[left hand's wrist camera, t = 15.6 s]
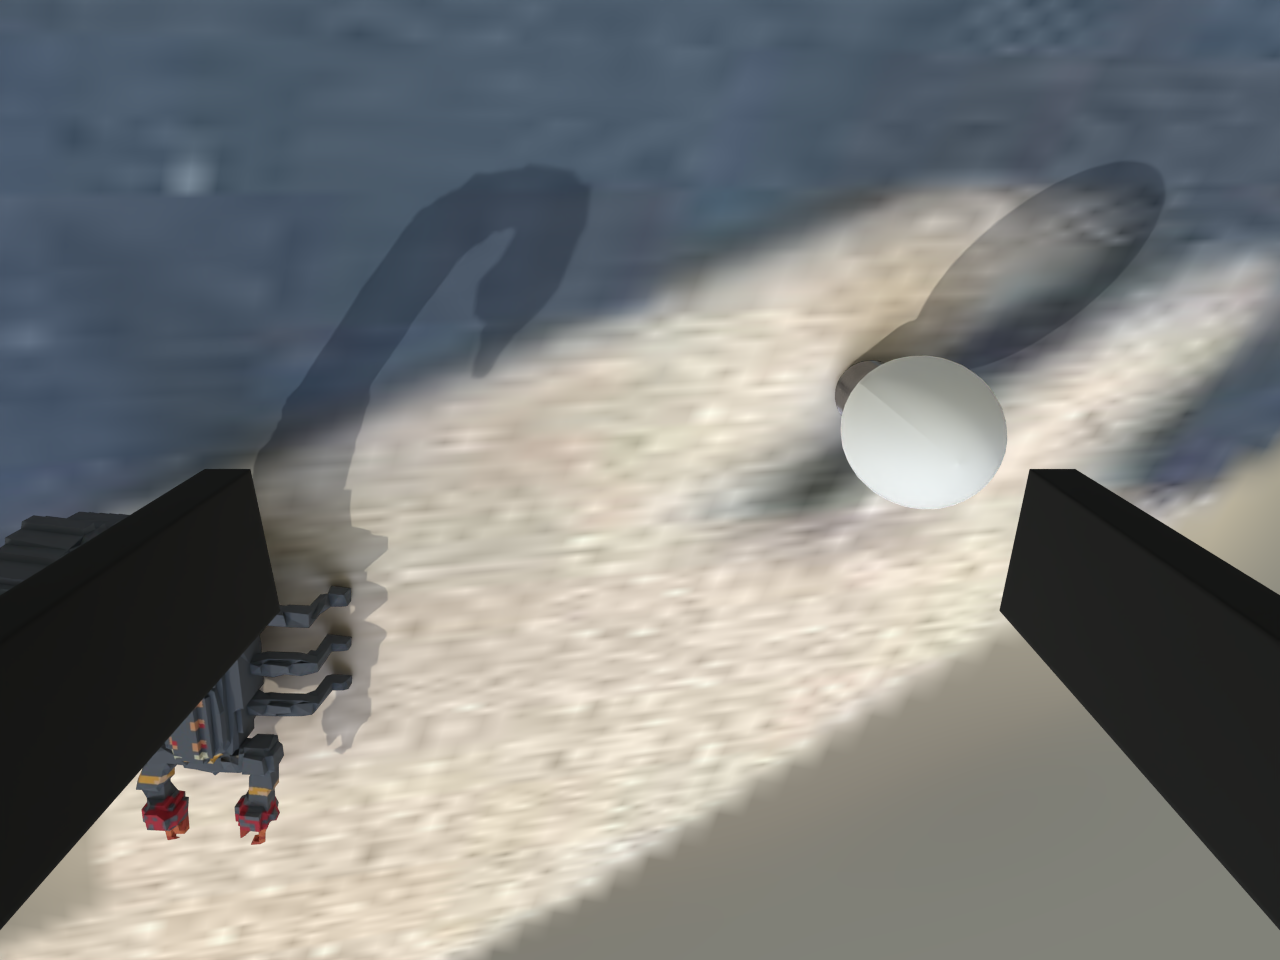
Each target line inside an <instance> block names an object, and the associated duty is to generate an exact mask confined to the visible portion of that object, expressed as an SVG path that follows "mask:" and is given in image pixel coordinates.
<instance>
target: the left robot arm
mask: <svg viewBox="0 0 1280 960" xmlns="http://www.w3.org/2000/svg"><path fill="white" fill-rule="evenodd" d="M279 612H280V606H279V602H278V597H277V592H276V587H275V583H274V578H273V573H272V569H271V564H270V559H269V555H268V550H267V545H266V540H265V536H264V531H263V526H262V522H261V517H260V512H259V508H258V503H257V498H256V494H255V489H254V484H253V479H252V475H251V470H250V469H204V470H203V471H201V472H199V473H198V474H196V475H194V476H193V477H191V478H190V479H188V480H186V481H185V482H183V483H182V484H180V485H178V486H177V487H175V488H173V489H172V490H170V491H169V492H167V493H165V494H164V495H162V496H160V497H159V498H157V499H156V500H154V501H152V502H151V503H149V504H147V505H146V506H144V507H143V508H141V509H139V510H138V511H136V512H134V513H133V514H131V515H130V516H128V517H126V518H125V519H123V520H121V521H120V522H118V523H117V524H115V525H113V526H112V527H110V528H109V529H107V530H105V531H104V532H102V533H100V534H99V535H97V536H96V537H94V538H92V539H91V540H89V541H87V542H86V543H84V544H83V545H81V546H79V547H78V548H76V549H74V550H73V551H71V552H70V553H68V554H66V555H65V556H63V557H61V558H60V559H58V560H57V561H55V562H53V563H52V564H50V565H49V566H47V567H45V568H44V569H42V570H40V571H39V572H37V573H36V574H34V575H32V576H31V577H29V578H27V579H26V580H24V581H23V582H21V583H19V584H18V585H16V586H14V587H13V588H11V589H10V590H8V591H6V592H5V593H3V594H1V595H0V930H1V929H2V927H3V926H4V925H5V924H6V923H7V922H8V921H9V919H10V918H11V917H12V916H13V915H14V914H15V913H16V911H17V910H18V909H19V908H20V907H21V906H22V905H23V903H24V902H25V901H26V900H27V899H28V898H29V897H30V895H31V894H32V893H33V892H34V891H35V890H36V889H37V887H38V886H39V885H40V884H41V883H42V882H43V881H44V879H45V878H46V877H47V876H48V875H49V874H50V873H51V872H52V870H53V869H54V868H55V867H56V866H57V865H58V864H59V862H60V861H61V860H62V859H63V858H64V857H65V856H66V854H67V853H68V852H69V851H70V850H71V849H72V848H73V846H74V845H75V844H76V843H77V842H78V841H79V840H80V838H81V837H82V836H83V835H84V834H85V833H86V832H87V831H88V829H89V828H90V827H91V826H92V825H93V824H94V823H95V821H96V820H97V819H98V818H99V817H100V816H101V815H102V813H103V812H104V811H105V810H106V809H107V808H108V807H109V805H110V804H111V803H112V802H113V801H114V800H115V799H116V797H117V796H118V795H119V794H120V793H121V792H122V791H123V789H124V788H125V787H126V786H127V785H128V784H129V783H130V782H131V780H132V779H133V778H134V777H135V776H136V775H137V774H138V772H139V771H140V770H141V769H142V768H143V767H144V766H145V764H146V763H147V762H148V761H149V760H150V759H151V758H152V756H153V755H154V754H155V753H156V752H157V751H158V750H159V748H160V747H161V746H162V745H163V744H164V743H165V742H166V740H167V739H168V738H169V737H170V736H171V735H172V734H173V732H174V731H175V730H176V729H177V728H178V727H179V726H180V725H181V723H182V722H183V721H184V720H185V719H186V718H187V717H188V715H189V714H190V713H191V712H192V711H193V710H194V709H195V707H196V706H197V705H198V704H199V703H200V702H201V701H202V699H203V698H204V697H205V696H206V695H207V694H208V693H209V691H210V690H211V689H212V688H213V687H214V686H215V685H216V683H217V682H218V681H219V680H220V679H221V678H222V677H223V676H224V674H225V673H226V672H227V671H228V670H229V669H230V668H231V666H232V665H233V664H234V663H235V662H236V661H237V660H238V658H239V657H240V656H241V655H242V654H243V653H244V652H245V650H246V649H247V648H248V647H249V646H250V645H251V644H252V642H253V641H254V640H255V639H256V638H257V637H258V636H259V634H260V633H261V632H262V631H263V630H264V629H265V628H266V626H267V625H268V624H269V623H270V622H271V621H272V620H273V619H274V617H275V616H276V615H277V614H278V613H279ZM1000 612H1001V613H1002V614H1003V615H1004V616H1005V617H1006V619H1007V620H1008V621H1009V622H1010V623H1011V624H1012V625H1013V626H1014V628H1015V629H1016V630H1017V631H1018V632H1019V633H1020V634H1021V636H1022V637H1023V638H1024V639H1025V640H1026V641H1027V642H1028V644H1029V645H1030V646H1031V647H1032V648H1033V649H1034V650H1035V652H1036V653H1037V654H1038V655H1039V656H1040V657H1041V658H1042V660H1043V661H1044V662H1045V663H1046V664H1047V665H1048V666H1049V667H1050V669H1051V670H1052V671H1053V672H1054V673H1055V674H1056V676H1057V677H1058V678H1059V679H1060V680H1061V681H1062V682H1063V683H1064V685H1065V686H1066V687H1067V688H1068V689H1069V690H1070V691H1071V693H1072V694H1073V695H1074V696H1075V697H1076V698H1077V699H1078V701H1079V702H1080V703H1081V704H1082V705H1083V706H1084V707H1085V709H1086V710H1087V711H1088V712H1089V713H1090V714H1091V715H1092V717H1093V718H1094V719H1095V720H1096V721H1097V722H1098V723H1099V724H1100V726H1101V727H1102V728H1103V729H1104V730H1105V731H1106V732H1107V734H1108V735H1109V736H1110V737H1111V738H1112V739H1113V740H1114V742H1115V743H1116V744H1117V745H1118V746H1119V747H1120V748H1121V750H1122V751H1123V752H1124V753H1125V754H1126V755H1127V756H1128V758H1129V759H1130V760H1131V761H1132V762H1133V763H1134V764H1135V766H1136V767H1137V768H1138V769H1139V770H1140V771H1141V772H1142V774H1143V775H1144V776H1145V777H1146V778H1147V779H1148V780H1149V782H1150V783H1151V784H1152V785H1153V786H1154V787H1155V788H1156V789H1157V791H1158V792H1159V793H1160V794H1161V795H1162V796H1163V797H1164V799H1165V800H1166V801H1167V802H1168V803H1169V804H1170V805H1171V807H1172V808H1173V809H1174V810H1175V811H1176V812H1177V813H1178V815H1179V816H1180V817H1181V818H1182V819H1183V820H1184V821H1185V823H1186V824H1187V825H1188V826H1189V827H1190V828H1191V829H1192V831H1193V832H1194V833H1195V834H1196V835H1197V836H1198V837H1199V838H1200V840H1201V841H1202V842H1203V843H1204V844H1205V845H1206V846H1207V848H1208V849H1209V850H1210V851H1211V852H1212V853H1213V854H1214V856H1215V857H1216V858H1217V859H1218V860H1219V861H1220V862H1221V863H1222V865H1223V866H1224V867H1225V868H1226V869H1227V870H1228V871H1229V873H1230V874H1231V875H1232V876H1233V877H1234V878H1235V879H1236V881H1237V882H1238V883H1239V884H1240V885H1241V886H1242V888H1243V889H1244V890H1245V891H1246V892H1247V893H1248V894H1249V895H1250V897H1251V898H1252V899H1253V900H1254V901H1255V902H1256V903H1257V905H1258V906H1259V907H1260V908H1261V909H1262V910H1263V911H1264V913H1265V914H1266V915H1267V916H1268V917H1269V918H1270V919H1271V921H1272V922H1273V923H1274V924H1275V925H1276V926H1277V927H1278V929H1279V930H1280V595H1279V594H1277V593H1275V592H1274V591H1272V590H1270V589H1269V588H1267V587H1266V586H1264V585H1262V584H1261V583H1259V582H1257V581H1256V580H1254V579H1253V578H1251V577H1249V576H1248V575H1246V574H1244V573H1243V572H1241V571H1240V570H1238V569H1236V568H1235V567H1233V566H1231V565H1230V564H1228V563H1227V562H1225V561H1223V560H1222V559H1220V558H1218V557H1217V556H1215V555H1214V554H1212V553H1210V552H1209V551H1207V550H1206V549H1204V548H1202V547H1201V546H1199V545H1197V544H1196V543H1194V542H1193V541H1191V540H1189V539H1188V538H1186V537H1184V536H1183V535H1181V534H1180V533H1178V532H1176V531H1175V530H1173V529H1171V528H1170V527H1168V526H1167V525H1165V524H1163V523H1162V522H1160V521H1159V520H1157V519H1155V518H1154V517H1152V516H1150V515H1149V514H1147V513H1146V512H1144V511H1142V510H1141V509H1139V508H1137V507H1136V506H1134V505H1133V504H1131V503H1129V502H1128V501H1126V500H1124V499H1123V498H1121V497H1120V496H1118V495H1116V494H1115V493H1113V492H1111V491H1110V490H1108V489H1107V488H1105V487H1103V486H1102V485H1100V484H1098V483H1097V482H1095V481H1094V480H1092V479H1090V478H1089V477H1087V476H1086V475H1084V474H1082V473H1081V472H1079V471H1077V470H1076V469H1030V470H1029V475H1028V479H1027V484H1026V489H1025V494H1024V498H1023V503H1022V508H1021V512H1020V517H1019V522H1018V526H1017V531H1016V536H1015V540H1014V545H1013V550H1012V555H1011V559H1010V564H1009V569H1008V573H1007V578H1006V583H1005V587H1004V592H1003V597H1002V602H1001V606H1000Z"/></svg>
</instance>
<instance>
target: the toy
mask: <svg viewBox="0 0 1280 960" xmlns="http://www.w3.org/2000/svg"><path fill="white" fill-rule="evenodd" d="M128 516H130V515H124V514H111V513H110V514H106V513H92V512H89V513H87V512H78V513H76V514H74V515H72V516H70V517H69V518H67V519H66V518H58V517H50V516H45V517H42V516H32V517H30V518H28V519H26V520H24V521H22V526H21V529H20V530H18V531H17V532H15V533H13V534H11V535H9V536H8V537H6V538H5V545H4V546H2V547H1V548H0V595H1V594H3V593H5V592H6V591H8V590H10V589H11V588H13V587H14V586H16V585H18V584H19V583H21V582H23V581H24V580H26V579H27V578H29V577H31V576H32V575H34V574H36V573H37V572H39V571H40V570H42V569H44V568H45V567H47V566H49V565H50V564H52V563H53V562H55V561H57V560H58V559H60V558H61V557H63V556H65V555H66V554H68V553H70V552H71V551H73V550H74V549H76V548H78V547H79V546H81V545H83V544H84V543H86V542H87V541H89V540H91V539H92V538H94V537H96V536H97V535H99V534H100V533H102V532H104V531H105V530H107V529H109V528H110V527H112V526H113V525H115V524H117V523H118V522H120V521H121V520H123V519H125V518H126V517H128ZM350 601H351V588H344V587H336V586H331V588H330V590H329V592H328V594H321V595H320V596H319V597H318V598H317V599H316V600H315V601H314V602H313V603H312V604H311V605H310V606H303V605H287V606H282V605H279V606H280V612H279V613H278V614H277V615H276V616H275V617H274V619H273V620H272V621H271V622H270V623H269V624H268V625H267V626H280V627H301V628H309V627H310V626H311V625H312V623H313V622H314V621H315V620H316V619H317V617H318V616H319V615H320V614H321V613H322V612H324V611H325V610H327V609H328V608H329V607H337V606H348V604H349V603H350ZM350 646H351V637H347V636H339V635H330V634H327V636H326V637H325V639H324V640H323V641H322V643H321V644H320V646H319V647H318V648H317V650H316V651H314V650H311V651H310V652H309V653H308V654H304V653H296V652H263V653H262V651H261V641H260V634H259V636H258V637H257V638H256V639H255V640H254V641H253V642H252V644H251V645H250V646H249V647H248V648H247V649H246V650H245V652H244V653H243V654H242V655H241V656H240V657H239V658H238V660H237V661H236V662H235V663H234V664H233V665H232V666H231V668H230V669H229V670H228V671H227V672H226V673H225V674H224V676H223V677H222V678H221V679H220V680H219V681H218V682H217V683H216V685H215V686H214V687H213V688H212V689H211V690H210V691H209V693H208V694H207V695H206V696H205V697H204V698H203V699H202V701H201V702H200V703H199V704H198V705H197V706H196V707H195V709H194V710H193V711H192V712H191V713H190V714H189V715H188V717H187V718H186V719H185V720H184V721H183V722H182V723H181V725H180V726H179V727H178V728H177V729H176V730H175V731H174V732H173V734H172V735H171V736H170V737H169V738H168V739H167V740H166V742H165V743H164V744H163V745H162V746H161V747H160V748H159V750H158V751H157V752H156V753H155V754H154V755H153V756H152V758H151V759H150V760H149V761H148V762H147V763H146V764H145V766H144V767H143V768H142V771H141V773H140V776H139V778H138V782H137V787H136V790H142V791H143V792H144V794H145V795H146V797H147V803H146V804H145V806H144V807H143V808H142V816H143V822H145V823H146V827H147V830H160V831H165V832H166V835H167V839H168V840H171V839H177V838H179V837H176V834H185V833H186V831H187V830H188V829H189V817H188V802H189V797H185V791H180V790H178V789H177V788H176V787H175V786H174V785H173V784H172V782H171V781H170V779H171V777H172V776H173V775H174V774H175V766H176V765H177V764H178V765H183V766H184V768H190V769H197V770H201V771H206V772H211V773H213V774H214V775H216V774H218V773H219V772H232V773H241V772H242V774H248V775H250V777H249V790H248V792H247V794H246V795H243V796H242V797H241V798H240V800H239V801H238V803H237V804H236V806H235V817H236V821H238V826H240V836H241V838H242V837H244V836H245V835H246V834H247V833H248V832H249V831H256V832H259V835H255V837H254V839H253V841H252V843H251V845H254V844H261V843H263V842H265V832H266V829H267V827H268V825H269V823H270V822H271V821H273V820H277V818H278V815H279V813H280V812H279V810H278V803H279V802H278V800H277V798H276V797H275V787H276V785H277V784H278V783H279V763H280V761H281V759H282V758H283V756H284V752H283V745H282V744H281V743H280V742H279V740H278V735H273V734H257V735H256V736H254V737H253V738H247V737H248V736H249V734H250V733H251V732H252V730H253V729H254V718H255V717H256V715H259V716H306V715H312V714H313V713H314V712H315V711H316V710H317V709H318V707H319V706H320V705H321V704H322V702H323V701H324V700H325V699H326V698H327V696H328V695H329V694H330V693H331V691H332V690H345V689H349V687H350V685H351V684H352V675H336V674H332V675H328V676H326V677H325V679H324V680H323V681H322V682H321V684H320V685H319V686H318V688H317V689H316V690H315V691H312V692H309V693H307V694H292V693H274V692H269V693H264V692H262V691H260V690H259V688H260V687H261V686H262V685H263V683H264V682H263V676H268V677H276V676H280V675H284V674H285V675H296V676H303V675H307V674H312V673H315V672H318V671H319V669H320V668H321V666H322V665H323V663H324V662H325V660H326V659H327V658H328V656H329V655H330V653H331V652H332V651H346V650H348V649H349V648H350Z"/></svg>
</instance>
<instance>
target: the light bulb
mask: <svg viewBox="0 0 1280 960" xmlns="http://www.w3.org/2000/svg"><path fill="white" fill-rule="evenodd" d="M835 400H836V405H837V408H838V410H839V412H840V414H841V415H842V419H841V437H842V445H843V449H844V452H845V455H846V457H847V460H848V462H849V464H850V465H851V467H852V469H853V470H854V472H855V473H856V475H857V476H858V478H859V479H860V480H861V481H862V482H864V483H865V484H866V485H867V486H868V487H869V488H870V489H871V490H872V491H873V492H875V493H876V494H878V495H879V496H881V497H883V498H884V499H886V500H889V501H891V502H893V503H896V504H899V505H902V506H904V507H910V508H916V509H940V508H945V507H949V506H953V505H955V504H958V503H961V502H963V501H965V500H967V499H968V498H970V497H972V496H973V495H975V494H977V493H978V492H979V491H980V490H982V489H983V488H984V487H985V486H986V485H987V484H988V483H989V482H990V480H991V479H992V478H993V477H994V475H995V473H996V472H997V470H998V468H999V467H1000V465H1001V463H1002V460H1003V457H1004V454H1005V451H1006V445H1007V427H1006V420H1005V417H1004V413H1003V410H1002V407H1001V405H1000V403H999V402H998V400H997V398H996V396H995V395H994V393H993V392H992V390H991V389H990V387H989V386H988V385H987V384H986V383H985V382H984V381H983V380H982V379H981V378H980V377H978V376H977V375H976V374H974V373H973V372H972V371H970V370H969V369H967V368H966V367H964V366H963V365H960V364H958V363H955V362H953V361H950V360H947V359H944V358H940V357H934V356H928V355H927V356H907V357H902V358H898V359H893V360H891V361H889V362H886V363H883V362H880V361H872V360H871V361H863V362H859V363H857V364H855V365H853V366H851V367H850V368H849V369H847V370H846V371H845V372H844V373H843V375H842V376H841V377H840V379H839V381H838V383H837V386H836V391H835Z"/></svg>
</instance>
